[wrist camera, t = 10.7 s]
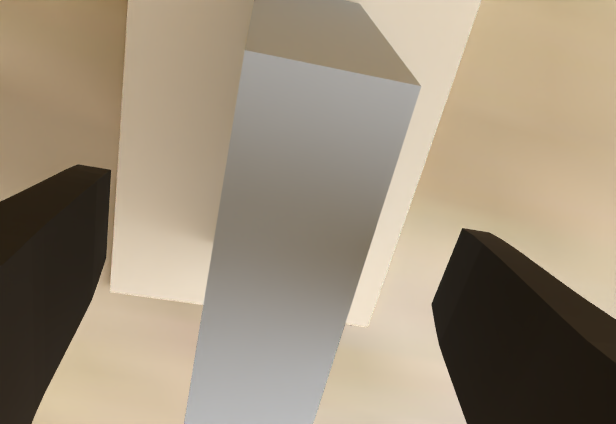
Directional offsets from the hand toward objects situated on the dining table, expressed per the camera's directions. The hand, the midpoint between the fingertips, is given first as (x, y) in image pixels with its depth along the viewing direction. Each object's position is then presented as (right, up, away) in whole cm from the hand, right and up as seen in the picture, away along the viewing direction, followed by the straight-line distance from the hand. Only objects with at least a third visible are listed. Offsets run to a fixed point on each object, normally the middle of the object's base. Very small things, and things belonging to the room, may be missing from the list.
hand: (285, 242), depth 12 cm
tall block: (0, +3, +7) cm, 8 cm away
